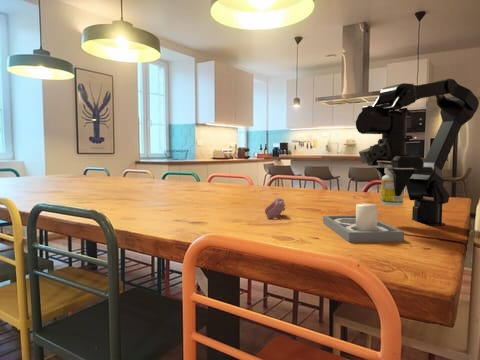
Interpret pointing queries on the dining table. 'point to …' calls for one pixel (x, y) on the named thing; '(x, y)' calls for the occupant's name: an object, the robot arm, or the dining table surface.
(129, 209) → the dining table surface
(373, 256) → the dining table surface
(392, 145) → the robot arm
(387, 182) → the supplement bottle
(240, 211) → the dining table surface
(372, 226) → the jaw peg
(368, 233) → the tray
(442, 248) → the dining table surface
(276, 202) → the video game controller
